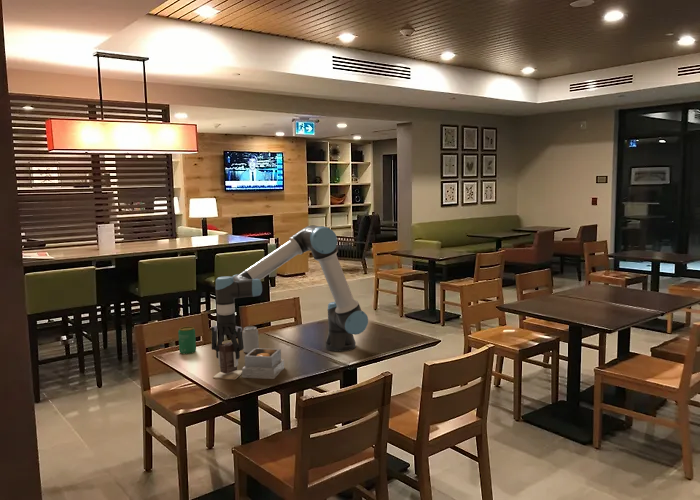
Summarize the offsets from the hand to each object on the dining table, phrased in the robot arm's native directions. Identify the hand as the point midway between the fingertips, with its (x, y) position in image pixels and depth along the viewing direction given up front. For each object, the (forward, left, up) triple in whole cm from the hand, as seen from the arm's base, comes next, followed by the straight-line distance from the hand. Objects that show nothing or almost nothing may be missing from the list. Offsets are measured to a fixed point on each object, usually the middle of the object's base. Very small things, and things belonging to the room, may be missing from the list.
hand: (228, 365), depth 242 cm
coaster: (0, 0, -4) cm, 4 cm away
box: (0, 0, -3) cm, 3 cm away
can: (+3, -34, -4) cm, 34 cm away
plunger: (-14, -5, 0) cm, 15 cm away
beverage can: (+34, -29, -4) cm, 45 cm away
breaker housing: (-14, -5, -4) cm, 15 cm away
